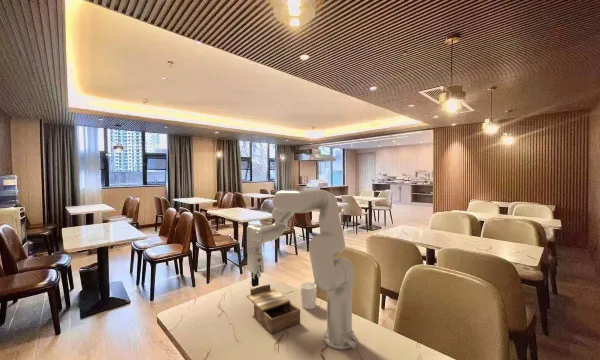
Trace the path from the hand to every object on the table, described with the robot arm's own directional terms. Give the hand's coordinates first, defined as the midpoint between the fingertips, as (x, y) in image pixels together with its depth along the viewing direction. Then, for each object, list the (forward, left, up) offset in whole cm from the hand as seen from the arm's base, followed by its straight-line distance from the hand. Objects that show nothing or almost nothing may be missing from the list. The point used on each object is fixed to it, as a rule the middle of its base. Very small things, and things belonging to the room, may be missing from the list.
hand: (255, 285), depth 136 cm
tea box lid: (-13, 0, -2) cm, 14 cm away
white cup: (-19, -19, -8) cm, 28 cm away
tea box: (-21, 0, -8) cm, 23 cm away
